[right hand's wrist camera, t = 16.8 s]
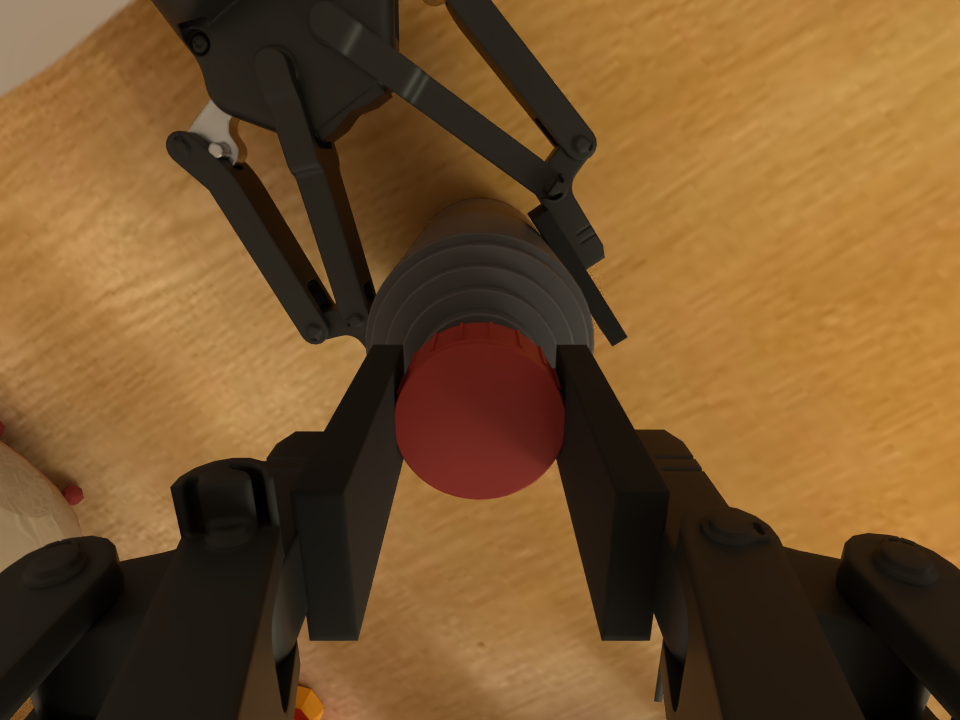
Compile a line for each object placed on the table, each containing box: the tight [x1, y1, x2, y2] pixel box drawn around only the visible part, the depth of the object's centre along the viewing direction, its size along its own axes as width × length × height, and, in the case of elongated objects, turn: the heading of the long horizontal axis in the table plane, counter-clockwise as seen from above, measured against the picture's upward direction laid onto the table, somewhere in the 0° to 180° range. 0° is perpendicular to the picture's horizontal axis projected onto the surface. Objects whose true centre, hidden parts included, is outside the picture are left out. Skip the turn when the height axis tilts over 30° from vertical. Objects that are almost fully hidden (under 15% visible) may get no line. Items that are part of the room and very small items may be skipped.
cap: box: [395, 321, 565, 500], centre depth 13 cm, size 4×4×2 cm
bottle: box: [366, 198, 594, 374], centre depth 22 cm, size 7×7×19 cm
